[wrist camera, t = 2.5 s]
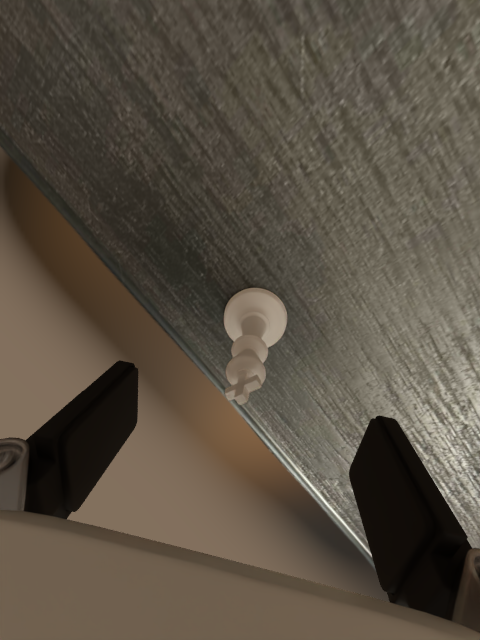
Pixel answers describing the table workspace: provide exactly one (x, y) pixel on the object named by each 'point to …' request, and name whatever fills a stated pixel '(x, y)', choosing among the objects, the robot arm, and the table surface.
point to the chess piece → (251, 338)
